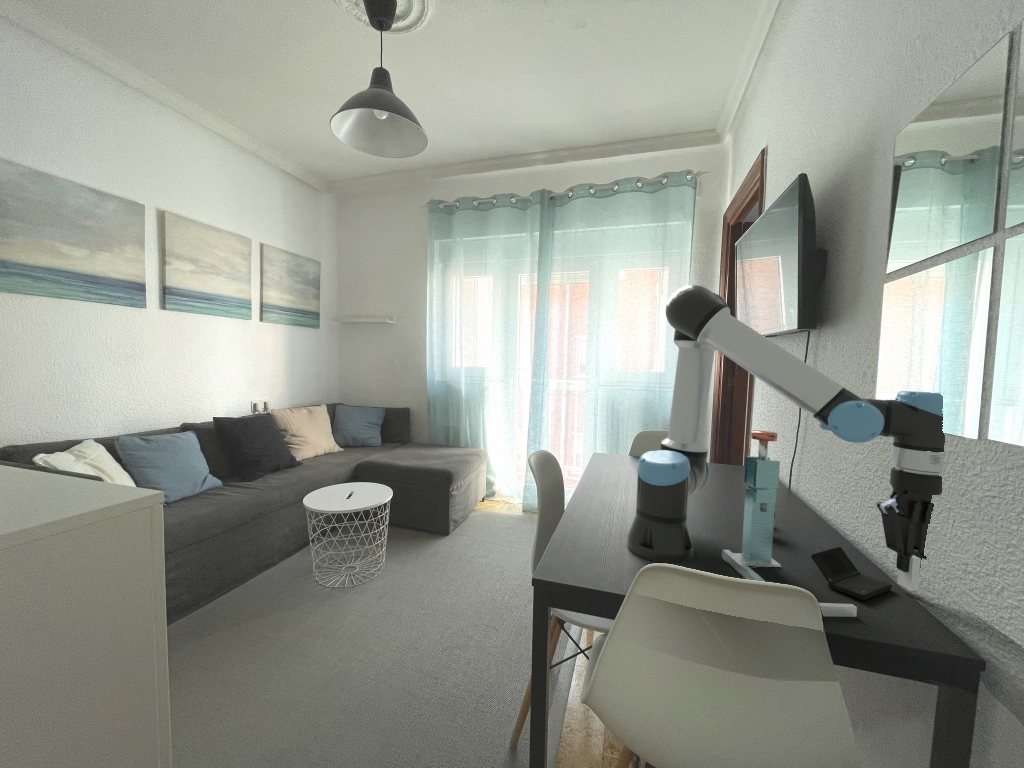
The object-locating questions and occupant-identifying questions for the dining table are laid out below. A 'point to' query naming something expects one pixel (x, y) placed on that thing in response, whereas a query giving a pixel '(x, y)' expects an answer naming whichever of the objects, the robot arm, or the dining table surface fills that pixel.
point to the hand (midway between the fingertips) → (907, 587)
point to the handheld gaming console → (847, 575)
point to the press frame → (765, 528)
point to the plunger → (763, 441)
